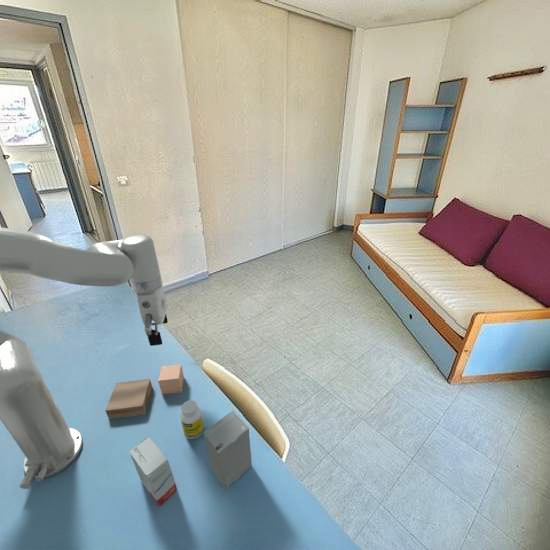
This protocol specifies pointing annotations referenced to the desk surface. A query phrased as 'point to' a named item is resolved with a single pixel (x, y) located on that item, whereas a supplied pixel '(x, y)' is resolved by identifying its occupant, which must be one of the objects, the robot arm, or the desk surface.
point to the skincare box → (228, 448)
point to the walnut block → (129, 399)
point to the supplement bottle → (191, 420)
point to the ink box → (153, 470)
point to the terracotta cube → (171, 379)
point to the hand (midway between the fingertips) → (159, 333)
